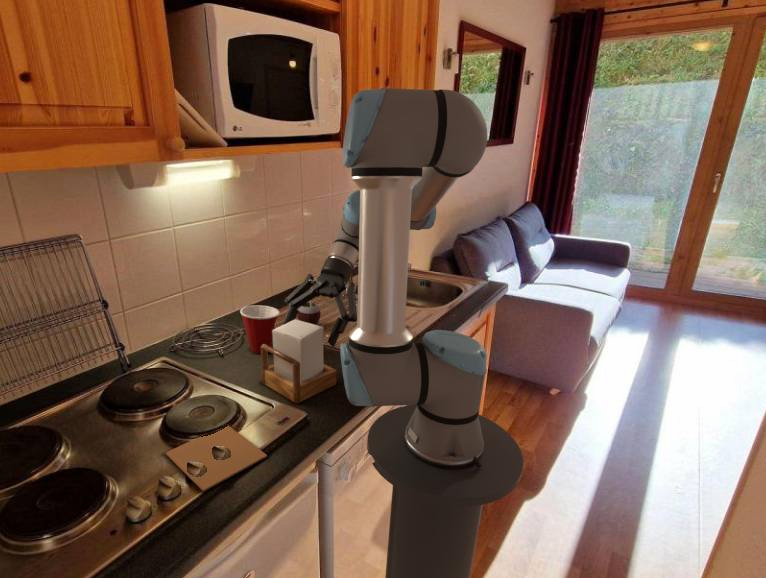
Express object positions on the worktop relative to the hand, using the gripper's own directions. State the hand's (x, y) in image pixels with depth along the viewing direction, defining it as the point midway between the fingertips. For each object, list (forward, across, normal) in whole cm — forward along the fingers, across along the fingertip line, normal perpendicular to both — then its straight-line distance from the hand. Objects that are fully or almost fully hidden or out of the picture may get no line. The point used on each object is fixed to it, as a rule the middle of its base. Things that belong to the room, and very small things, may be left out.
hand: (307, 337), depth 117 cm
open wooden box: (+10, 0, -5) cm, 12 cm away
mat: (+33, -3, +17) cm, 37 cm away
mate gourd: (-11, +17, -27) cm, 34 cm away
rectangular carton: (+10, 0, -5) cm, 12 cm away
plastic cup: (+3, +20, -13) cm, 24 cm away
